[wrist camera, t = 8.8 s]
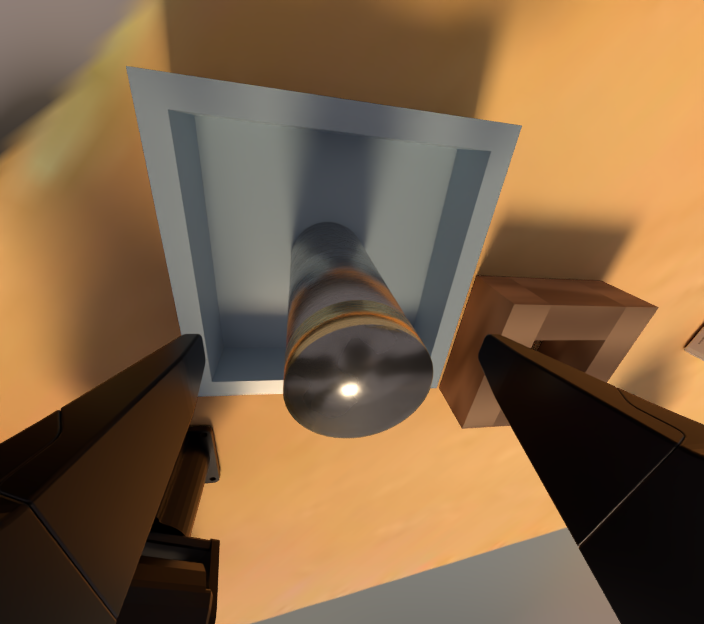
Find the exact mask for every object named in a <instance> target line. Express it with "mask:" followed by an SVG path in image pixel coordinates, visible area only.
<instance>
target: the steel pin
mask: <svg viewBox="0 0 704 624" xmlns="http://www.w3.org/2000/svg"><path fill="white" fill-rule="evenodd" d="M432 380H433V363H432V360H431V357H430V355H429V353H428V351H427V349H426V347H425V346H424V344H423V342H422V341H421V339H420V337H419V336H418V334H417V333H416V331H415V329H414V328H413V326H412V325H411V323H410V322H409V320H408V319H407V318H406V316H405V314H404V313H403V311H402V309H401V308H400V306H399V304H398V303H397V301H396V300H395V298H394V296H393V295H392V293H391V291H390V290H389V288H388V286H387V285H386V283H385V281H384V280H383V278H382V277H381V275H380V273H379V272H378V270H377V268H376V267H375V265H374V263H373V262H372V260H371V258H370V257H369V255H368V254H367V252H366V250H365V249H364V247H363V245H362V244H361V242H360V240H359V239H358V237H357V236H356V235H355V234H354V233H353V232H352V231H351V230H350V229H349V228H347V227H345V226H343V225H341V224H338V223H334V222H322V223H317V224H314V225H312V226H310V227H308V228H306V229H305V230H304V231H303V232H302V233H301V234H300V235H299V236H298V237H297V239H296V240H295V242H294V244H293V247H292V251H291V263H290V282H289V301H288V320H287V338H286V352H285V363H284V380H283V397H284V401H285V404H286V407H287V409H288V411H289V413H290V414H291V415H292V417H293V418H294V419H295V420H296V421H297V422H298V423H299V424H301V425H302V426H303V427H305V428H307V429H308V430H310V431H312V432H315V433H317V434H320V435H324V436H327V437H333V438H359V437H365V436H370V435H374V434H377V433H380V432H383V431H385V430H388V429H390V428H392V427H394V426H396V425H397V424H399V423H401V422H402V421H404V420H405V419H406V418H408V417H409V416H410V415H411V414H412V413H414V412H415V411H416V410H417V408H418V407H419V406H420V405H421V404H422V402H423V401H424V400H425V398H426V396H427V394H428V393H429V390H430V387H431V384H432Z"/></svg>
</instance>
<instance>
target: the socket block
mask: <svg viewBox="0 0 704 624" xmlns="http://www.w3.org/2000/svg"><path fill="white" fill-rule="evenodd" d="M658 308H659V307H656V306H654V305H652V304H650V303H648V302H646V301H644V300H641V299H639V298H637V297H635V296H633V295H631V294H629V293H626V292H624V291H622V290H620V289H618V288H616V287H614V286H612V285H609V284H607V283H605V282H603V281H594V280H570V279H546V278H522V277H498V276H476V279H475V282H474V285H473V288H472V291H471V294H470V297H469V300H468V303H467V306H466V309H465V312H464V315H463V318H462V321H461V324H460V327H459V330H458V333H457V336H456V339H455V342H454V345H453V348H452V351H451V354H450V357H449V360H448V363H447V366H446V369H445V372H444V375H443V378H442V381H441V384H440V387H439V389H440V391H441V392H442V394H443V396H444V398H445V399H446V401H447V403H448V405H449V407H450V408H451V410H452V412H453V414H454V415H455V417H456V419H457V421H458V422H459V424H460V426H461V428H462V429H464V428H480V427H495V426H510V424H509V422H508V421H507V419H506V417H505V415H504V413H503V412H502V410H501V408H500V406H499V405H498V403H497V401H496V399H495V397H494V395H493V392H492V390H491V388H490V386H489V383H488V381H487V379H486V376H485V374H484V372H483V369H482V367H481V365H480V363H479V360H478V353H479V350H480V348H481V345H482V342H483V340H484V338H485V336H486V335H488V334H500V335H502V336H505V337H507V338H509V339H511V340H513V341H516V342H518V343H520V344H522V345H524V346H527V347H529V348H531V347H532V345H533V343H534V341H535V340H543V341H542V343H541V345H540V347H539V349H538V352H540V353H542V354H544V355H547V356H549V357H551V358H553V359H555V360H558V361H560V362H562V363H564V364H566V365H569V366H571V367H573V368H575V369H577V370H580V371H582V372H584V373H586V374H588V375H591V376H593V377H595V378H597V379H600V380H602V381H604V382H606V383H607V382H608V380H609V379H610V377H611V376H612V374H613V373H614V371H615V370H616V369H617V367H618V366H619V364H620V363H621V361H622V360H623V358H624V357H625V356H626V354H627V353H628V351H629V350H630V348H631V347H632V345H633V344H634V342H635V341H636V340H637V338H638V337H639V335H640V334H641V332H642V331H643V329H644V328H645V326H646V325H647V324H648V322H649V321H650V319H651V318H652V316H653V315H654V313H655V312H656V311H657V309H658Z"/></svg>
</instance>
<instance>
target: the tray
mask: <svg viewBox="0 0 704 624" xmlns="http://www.w3.org/2000/svg"><path fill="white" fill-rule="evenodd" d="M126 69H127V74H128V79H129V83H130V88H131V93H132V98H133V103H134V108H135V113H136V117H137V122H138V127H139V132H140V137H141V142H142V147H143V151H144V156H145V161H146V166H147V171H148V176H149V181H150V185H151V190H152V195H153V200H154V205H155V210H156V215H157V219H158V224H159V229H160V234H161V239H162V244H163V248H164V253H165V258H166V263H167V268H168V273H169V278H170V282H171V287H172V292H173V297H174V302H175V307H176V312H177V316H178V321H179V326H180V331H181V336H182V335H183V334H200V335H201V336H202V340H203V345H204V351H205V359H206V361H205V367H204V372H203V376H202V380H201V385H200V389H199V393H198V397H202V396H229V395H257V394H283V380H284V363H285V352H286V338H287V320H288V301H289V282H290V263H291V251H292V247H293V244H294V242H295V240H296V239H297V237H298V236H299V235H300V234H301V233H302V232H303V231H304V230H305V229H306V228H308V227H310V226H312V225H314V224H317V223H322V222H334V223H338V224H341V225H343V226H345V227H347V228H349V229H350V230H351V231H352V232H353V233H354V234H355V235H356V236H357V237H358V239H359V240H360V242H361V244H362V245H363V247H364V249H365V250H366V252H367V254H368V255H369V257H370V258H371V260H372V262H373V263H374V265H375V267H376V268H377V270H378V272H379V273H380V275H381V277H382V278H383V280H384V281H385V283H386V285H387V286H388V288H389V290H390V291H391V293H392V295H393V296H394V298H395V300H396V301H397V303H398V304H399V306H400V308H401V309H402V311H403V313H404V314H405V316H406V318H407V319H408V320H409V322H410V323H411V325H412V326H413V328H414V329H415V331H416V333H417V334H418V336H419V337H420V339H421V341H422V342H423V344H424V346H425V347H426V349H427V351H428V353H429V355H430V357H431V360H432V363H433V380H432V384H431V387H430V388H437V385H438V382H439V379H440V376H441V373H442V370H443V366H444V363H445V360H446V357H447V354H448V351H449V348H450V345H451V342H452V339H453V336H454V333H455V330H456V327H457V324H458V320H459V317H460V314H461V311H462V308H463V305H464V302H465V299H466V296H467V293H468V290H469V287H470V284H471V281H472V278H473V274H474V271H475V268H476V265H477V262H478V259H479V256H480V253H481V250H482V247H483V244H484V241H485V238H486V235H487V232H488V228H489V225H490V222H491V219H492V216H493V213H494V210H495V207H496V204H497V201H498V198H499V195H500V192H501V189H502V186H503V183H504V179H505V176H506V173H507V170H508V167H509V164H510V161H511V158H512V155H513V152H514V149H515V146H516V143H517V140H518V137H519V133H520V130H521V127H522V126H521V125H514V124H507V123H501V122H494V121H487V120H481V119H474V118H468V117H461V116H454V115H448V114H441V113H434V112H428V111H421V110H414V109H408V108H401V107H395V106H388V105H381V104H375V103H368V102H361V101H355V100H348V99H341V98H335V97H328V96H322V95H315V94H308V93H302V92H295V91H288V90H282V89H275V88H269V87H262V86H255V85H249V84H242V83H235V82H229V81H222V80H215V79H209V78H202V77H196V76H189V75H182V74H176V73H169V72H162V71H156V70H149V69H142V68H136V67H129V66H126Z"/></svg>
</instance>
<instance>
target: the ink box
mask: <svg viewBox="0 0 704 624" xmlns="http://www.w3.org/2000/svg"><path fill="white" fill-rule="evenodd" d="M684 350H685V351H686V352H688V353H689V354H691V355H693V356H695V357H697V358H699V359H701V360H703V361H704V327H703V328H702V329H701V330H700V331H699V333H698V334H697V335H696V336H695V337H694V339H693V340H692V341H691V342H690V343H689V344H688V346H687V347H686V348H685V349H684Z"/></svg>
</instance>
